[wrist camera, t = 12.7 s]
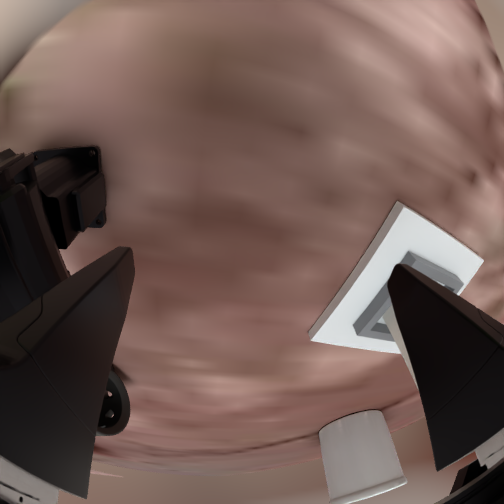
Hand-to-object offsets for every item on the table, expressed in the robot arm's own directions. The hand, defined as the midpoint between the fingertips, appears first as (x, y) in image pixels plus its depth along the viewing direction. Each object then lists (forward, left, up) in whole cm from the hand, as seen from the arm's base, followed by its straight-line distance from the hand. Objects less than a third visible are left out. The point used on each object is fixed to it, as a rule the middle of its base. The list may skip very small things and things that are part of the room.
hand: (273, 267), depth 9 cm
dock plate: (+18, -11, -12) cm, 24 cm away
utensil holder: (+26, -47, -12) cm, 55 cm away
